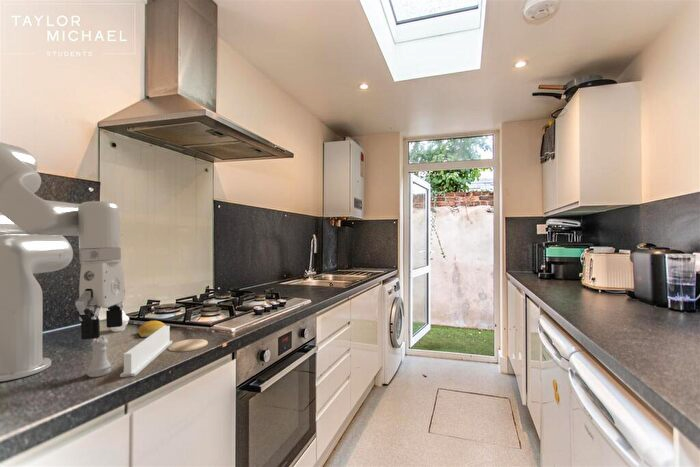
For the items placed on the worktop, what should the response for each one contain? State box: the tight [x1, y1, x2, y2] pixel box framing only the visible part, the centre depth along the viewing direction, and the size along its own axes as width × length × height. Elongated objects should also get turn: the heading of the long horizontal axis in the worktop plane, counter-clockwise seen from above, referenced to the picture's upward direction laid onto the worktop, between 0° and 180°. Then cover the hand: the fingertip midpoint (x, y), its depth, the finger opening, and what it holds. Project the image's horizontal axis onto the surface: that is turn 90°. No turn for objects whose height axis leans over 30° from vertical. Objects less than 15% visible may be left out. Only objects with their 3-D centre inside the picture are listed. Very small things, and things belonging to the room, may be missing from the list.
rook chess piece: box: [86, 336, 112, 378], centre depth 76 cm, size 4×4×8 cm
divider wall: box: [119, 325, 173, 378], centre depth 86 cm, size 3×24×5 cm, turn 10°
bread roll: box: [137, 320, 168, 338], centre depth 108 cm, size 8×9×4 cm
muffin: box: [109, 309, 130, 333], centre depth 111 cm, size 6×6×7 cm
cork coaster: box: [167, 338, 209, 353], centre depth 95 cm, size 10×10×1 cm
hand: (103, 332), depth 76 cm, fingers open, 9 cm apart
